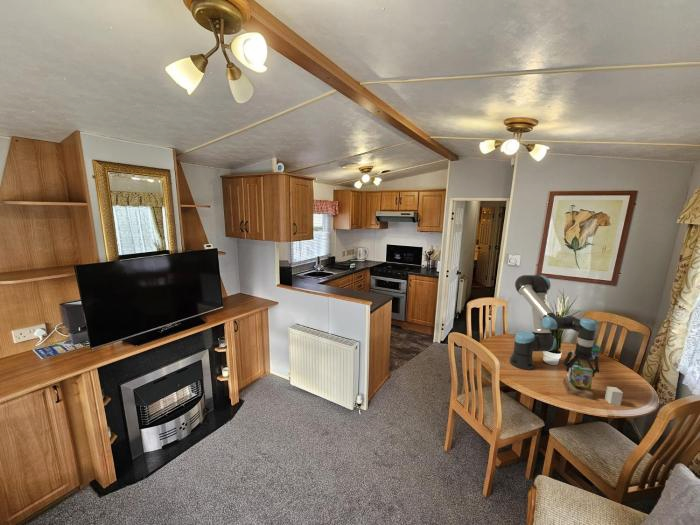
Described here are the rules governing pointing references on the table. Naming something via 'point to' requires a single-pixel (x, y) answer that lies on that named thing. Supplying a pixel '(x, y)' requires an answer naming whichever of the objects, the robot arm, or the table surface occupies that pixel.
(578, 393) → the walnut block
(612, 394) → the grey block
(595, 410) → the table surface
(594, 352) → the snack cup
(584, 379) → the chalk box
